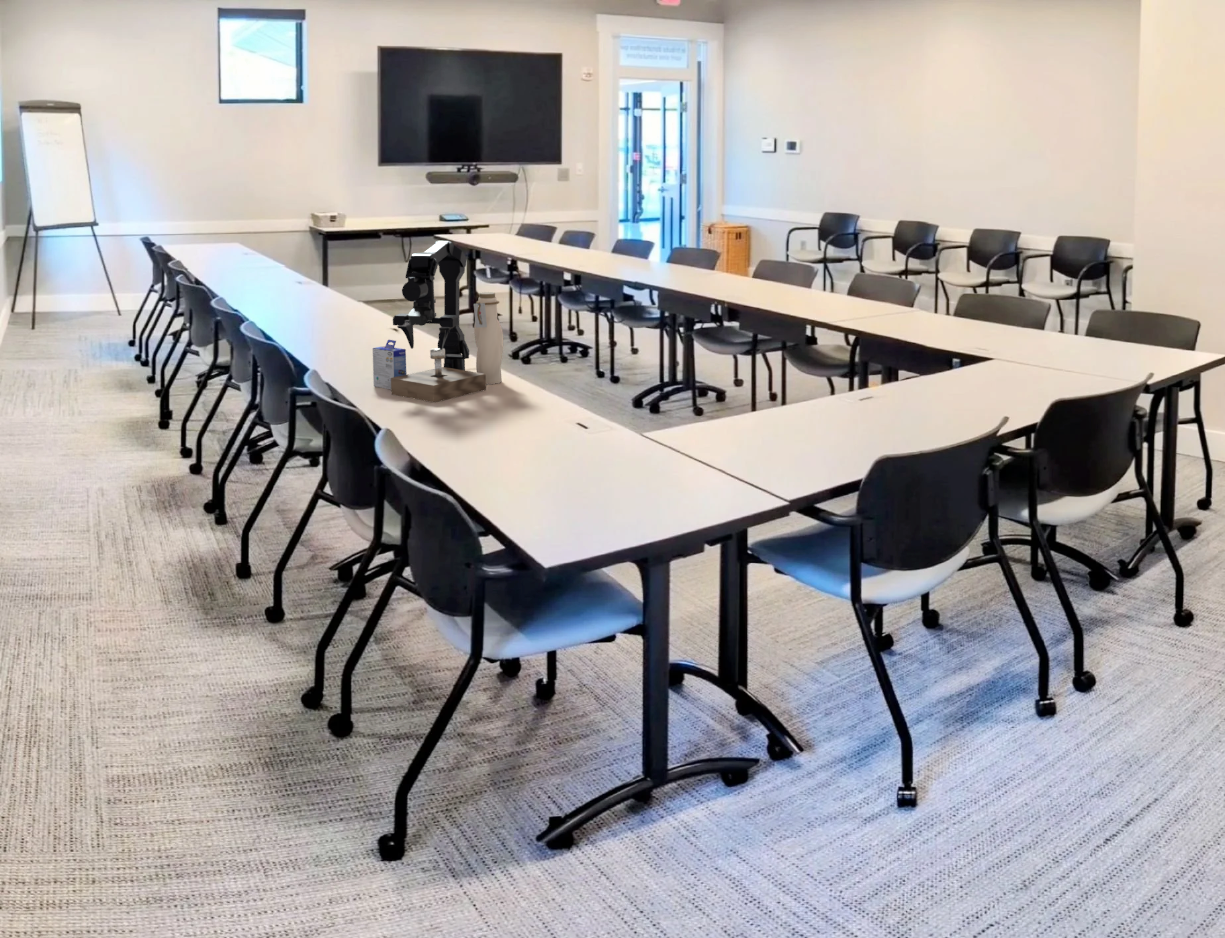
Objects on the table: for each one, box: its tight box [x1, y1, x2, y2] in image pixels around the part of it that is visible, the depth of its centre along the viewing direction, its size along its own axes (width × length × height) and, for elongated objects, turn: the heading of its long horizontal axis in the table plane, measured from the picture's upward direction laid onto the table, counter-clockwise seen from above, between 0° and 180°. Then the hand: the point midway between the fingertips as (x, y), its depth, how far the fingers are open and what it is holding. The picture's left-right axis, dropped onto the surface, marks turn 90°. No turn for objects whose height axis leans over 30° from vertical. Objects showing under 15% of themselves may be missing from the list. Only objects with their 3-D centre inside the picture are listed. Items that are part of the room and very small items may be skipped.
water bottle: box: [473, 291, 504, 385], centre depth 353 cm, size 10×9×28 cm
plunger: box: [429, 347, 445, 378], centre depth 340 cm, size 4×4×9 cm
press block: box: [390, 366, 487, 403], centre depth 342 cm, size 22×18×5 cm
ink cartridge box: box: [372, 339, 407, 390], centre depth 347 cm, size 10×6×14 cm, turn 53°
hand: (426, 348), depth 339 cm, fingers open, 9 cm apart
